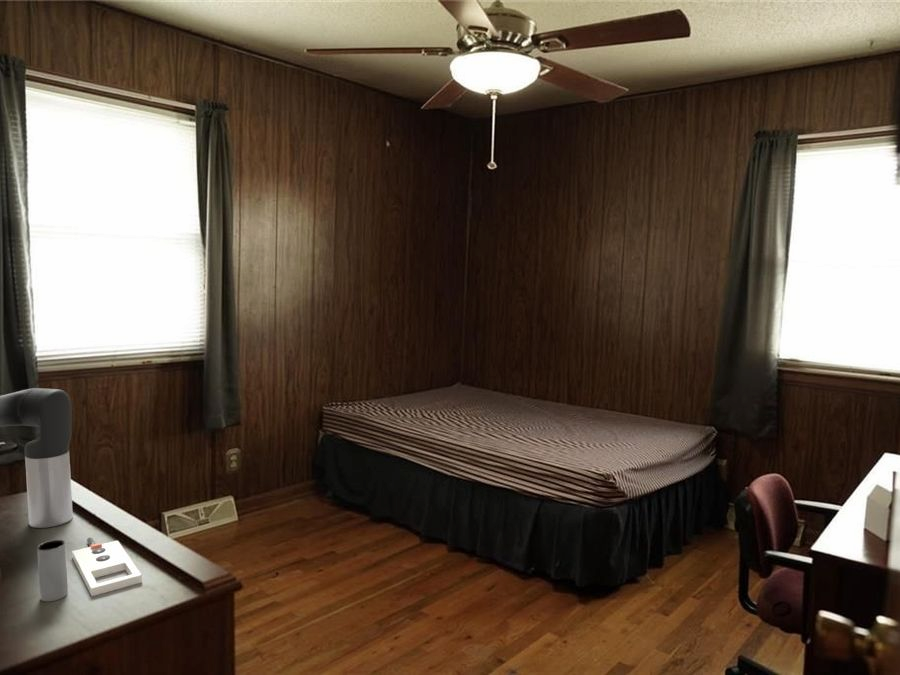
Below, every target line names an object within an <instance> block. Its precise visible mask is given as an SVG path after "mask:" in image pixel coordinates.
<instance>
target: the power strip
mask: <svg viewBox="0 0 900 675" xmlns="http://www.w3.org/2000/svg"><path fill="white" fill-rule="evenodd" d="M86 542H87V544H88V545H89V546H88V547H84V548H80V549H79V548H78V549H76V550H72V551H71V553H72V554H71V556H72V560H73V562H74V564H75V566H76V568H77V570H78V572H79V574H80V576H81V577H82V580H83V582H84V584H85V586H86V588H87V589H88V590H87V591H88V592H89V593H90V595H91V597H95V596H99V595H102V594H105V593H109V592H112V591H115V590H119V589H123V588H126V587H131V586H134V585H138V584H141V583H143V578H142V576H143V574H142V573H141V572H140V570H139V569H138V568H137V566H136V565H135V563H134V562H133V560H132V559H131V558H130V556H129V554H128V553H127V552H126V550H125V549H124V547H123V546H122V544H121V543H120V541H119V540H113V541H109V542H105V543H101V542H98V543H97V542H95V541H94V539H93V537H88V538H87V539H86ZM122 571H126V573H127V574H128V575H125V576H121V577H116V578H114V579H109V580H106V581H102V582H97V580H96V578H100V577H103V576H108V575H112V574H115V573H119V572H122Z"/></svg>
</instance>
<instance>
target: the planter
mask: <svg viewBox="0 0 900 675" xmlns="http://www.w3.org/2000/svg"><path fill="white" fill-rule="evenodd" d="M36 547H37V548H36V549H37V550H36V552H37V566H38V582H39V583H38V584H39V598H40V600H41V601H43V602H54V601H58V600H61V599H63V598H65V597H66V596H67V595H68V593H69V592H68V590H69V588H68V587H69V586H68V573H67V571H68V570H67V569H68V568H67V557H66V542H65V541H64V540H62V539H53V540H49V541H44V542H42V543H40V544H39V545H38V546H36Z"/></svg>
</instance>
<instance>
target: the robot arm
mask: <svg viewBox="0 0 900 675" xmlns="http://www.w3.org/2000/svg"><path fill="white" fill-rule="evenodd" d="M72 412H73V410H72V401H71V398H70V396H69V394H68V393H67V392H66V391H65V390H62V389H56V388H41V387H33V388H28V389H27V388H26V389H21V390H19V391H15V392H11V393H7V394H3V395H2V394H1V395H0V428H5V427H11V426H14V427H15V426H25V427H40V430H39V432H40V434H39V437H38V438H37V439H33V440H31V441H28V442H27V443H26V444H25V446H24V461H25V475H26V476H25V477H26V493H27V507H28V508H27V509H28V525H29V526H30V527H31V528H36V529H45V528H46V529H47V528H51V527H56V526H61V525H64V524H66V523H68V522H70V521H71V520H72V519H73V516H74V514H73V496H72V480H71V479H72V478H71V477H72V476H71V462H70V460H71V459H70V443H71V439H72V424H73V423H72V422H73V421H72V417H73V413H72ZM1 580H2V570H1V569H0V581H1Z"/></svg>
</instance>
